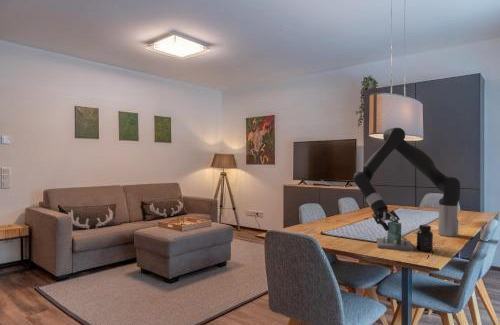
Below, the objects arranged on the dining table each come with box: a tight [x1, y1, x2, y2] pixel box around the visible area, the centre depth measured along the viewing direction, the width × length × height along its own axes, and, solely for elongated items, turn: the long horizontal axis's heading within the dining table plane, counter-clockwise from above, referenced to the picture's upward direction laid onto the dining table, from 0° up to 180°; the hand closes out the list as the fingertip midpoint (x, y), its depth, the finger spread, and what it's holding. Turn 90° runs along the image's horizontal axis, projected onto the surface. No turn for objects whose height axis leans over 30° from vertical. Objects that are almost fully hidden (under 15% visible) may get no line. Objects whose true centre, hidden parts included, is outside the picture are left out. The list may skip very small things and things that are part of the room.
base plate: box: [376, 236, 415, 252], centre depth 172 cm, size 16×14×4 cm
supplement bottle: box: [416, 224, 434, 253], centre depth 163 cm, size 7×7×12 cm
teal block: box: [386, 221, 402, 244], centre depth 172 cm, size 4×4×10 cm
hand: (393, 229), depth 172 cm, fingers open, 8 cm apart
